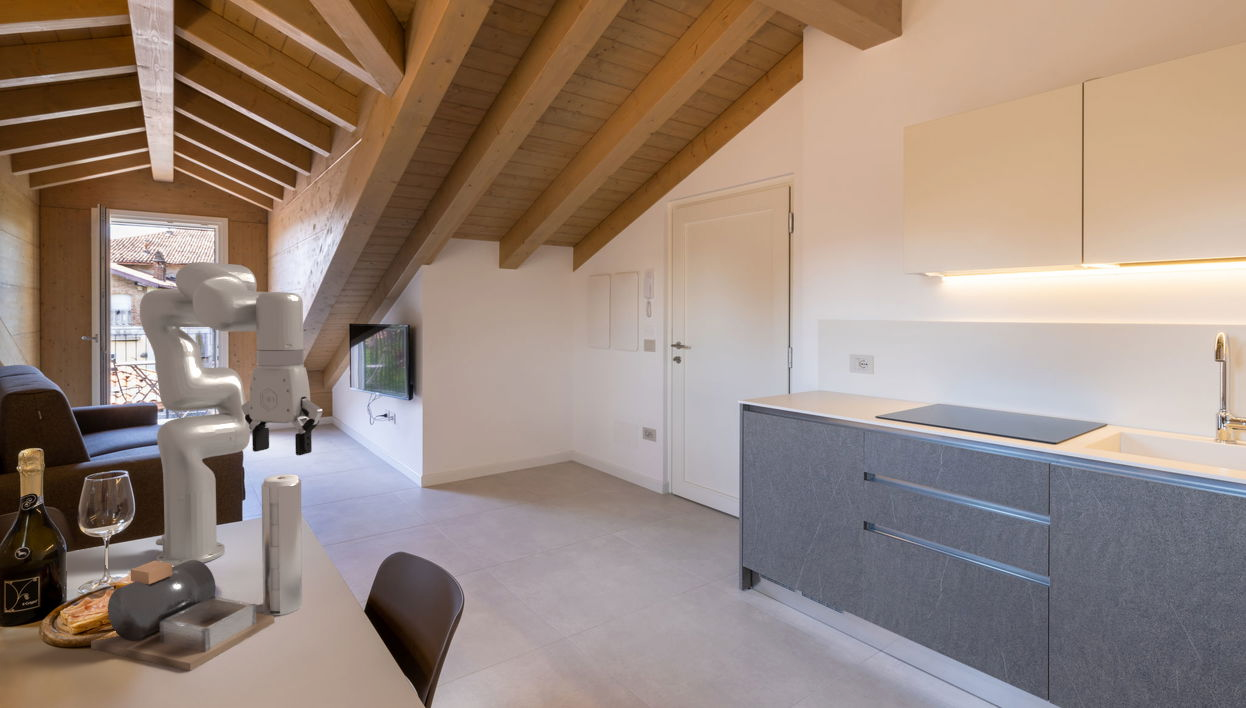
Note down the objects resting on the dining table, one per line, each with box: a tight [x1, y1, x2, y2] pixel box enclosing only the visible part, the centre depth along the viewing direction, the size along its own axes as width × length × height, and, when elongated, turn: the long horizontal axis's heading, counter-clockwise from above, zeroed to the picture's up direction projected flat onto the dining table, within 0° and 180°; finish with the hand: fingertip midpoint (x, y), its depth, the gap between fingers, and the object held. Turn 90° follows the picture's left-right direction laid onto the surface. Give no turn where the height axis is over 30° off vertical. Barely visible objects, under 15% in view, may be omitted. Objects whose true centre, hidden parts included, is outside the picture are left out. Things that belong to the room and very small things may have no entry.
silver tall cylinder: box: [261, 473, 303, 617], centre depth 117 cm, size 6×6×25 cm
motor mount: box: [90, 560, 275, 672], centre depth 106 cm, size 21×16×12 cm
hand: (282, 452), depth 115 cm, fingers open, 9 cm apart
